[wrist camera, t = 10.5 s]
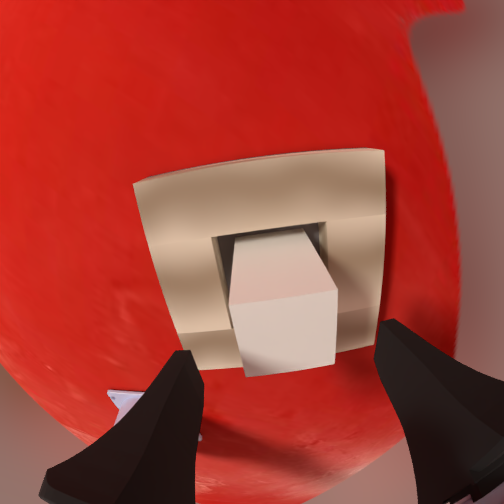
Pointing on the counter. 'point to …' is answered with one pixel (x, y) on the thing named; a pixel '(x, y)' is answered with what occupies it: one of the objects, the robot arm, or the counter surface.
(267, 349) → the white rectangular block
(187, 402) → the robot arm
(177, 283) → the holder block
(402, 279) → the counter surface
